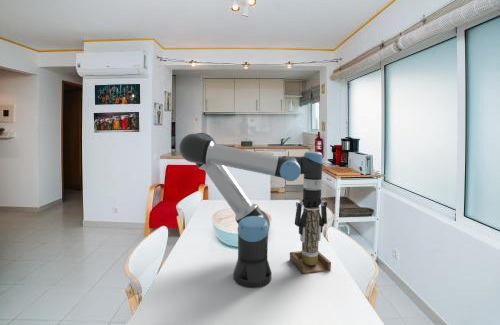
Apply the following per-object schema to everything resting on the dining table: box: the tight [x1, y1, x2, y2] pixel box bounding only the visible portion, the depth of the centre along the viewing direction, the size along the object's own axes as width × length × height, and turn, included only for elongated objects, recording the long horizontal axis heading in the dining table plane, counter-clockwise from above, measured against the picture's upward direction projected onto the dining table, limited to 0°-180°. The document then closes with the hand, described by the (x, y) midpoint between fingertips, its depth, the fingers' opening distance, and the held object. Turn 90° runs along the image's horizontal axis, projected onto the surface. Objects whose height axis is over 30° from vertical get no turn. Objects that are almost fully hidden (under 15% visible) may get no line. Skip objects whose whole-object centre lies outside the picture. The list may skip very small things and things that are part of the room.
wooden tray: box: [289, 250, 332, 275], centre depth 124 cm, size 13×13×4 cm
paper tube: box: [301, 206, 321, 265], centre depth 122 cm, size 7×7×25 cm
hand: (310, 240), depth 123 cm, fingers closed on paper tube, 7 cm apart
